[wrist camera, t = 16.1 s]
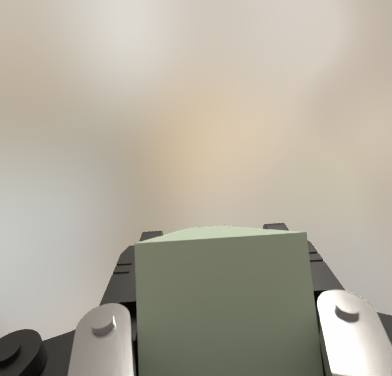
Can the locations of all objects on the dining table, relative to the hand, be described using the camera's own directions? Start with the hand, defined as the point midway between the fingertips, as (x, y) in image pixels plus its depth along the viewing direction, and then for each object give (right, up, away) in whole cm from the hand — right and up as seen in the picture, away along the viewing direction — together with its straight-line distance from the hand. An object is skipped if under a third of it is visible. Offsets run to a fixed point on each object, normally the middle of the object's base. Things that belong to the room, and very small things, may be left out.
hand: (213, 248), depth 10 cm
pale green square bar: (0, -4, +7) cm, 8 cm away
